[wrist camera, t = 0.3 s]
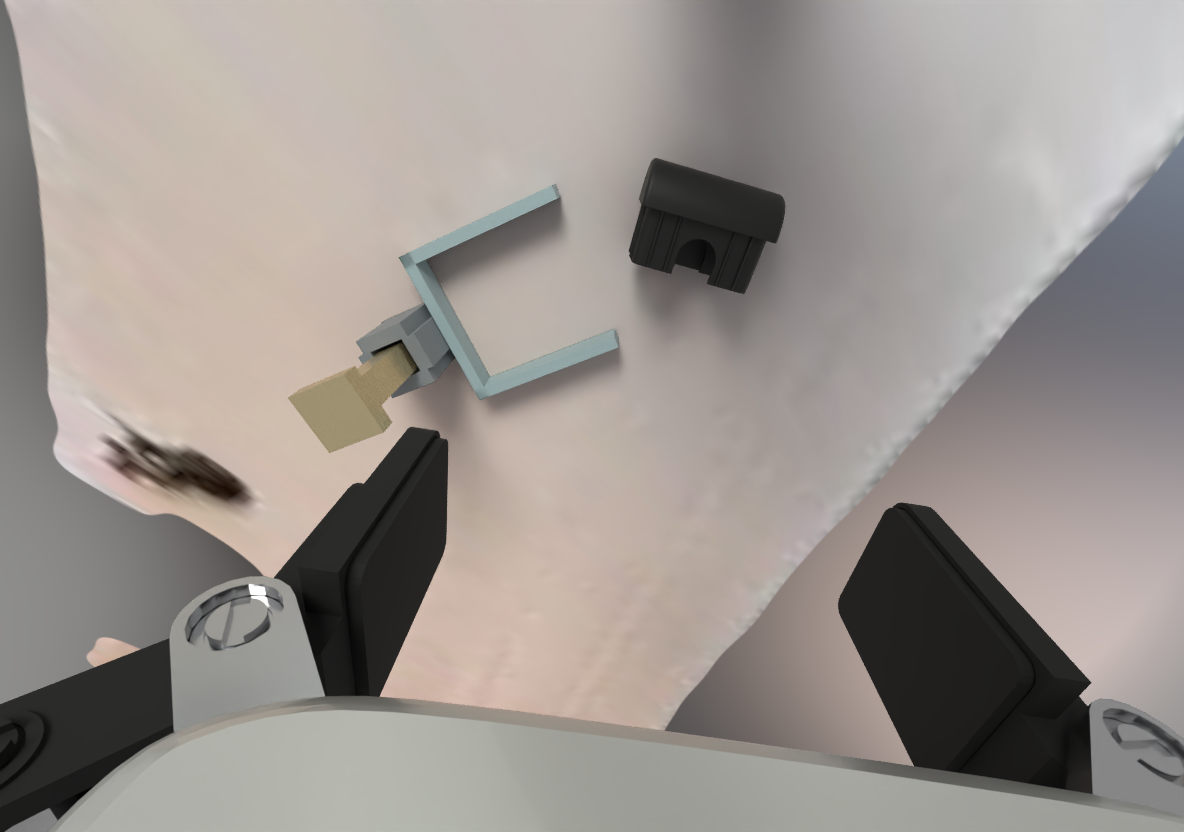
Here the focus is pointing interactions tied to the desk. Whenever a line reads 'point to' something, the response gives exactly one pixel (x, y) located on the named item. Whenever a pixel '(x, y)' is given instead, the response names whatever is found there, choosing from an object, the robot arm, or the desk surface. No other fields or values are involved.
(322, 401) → the pin
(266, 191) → the desk surface
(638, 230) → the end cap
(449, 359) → the u-shaped bracket with socket
